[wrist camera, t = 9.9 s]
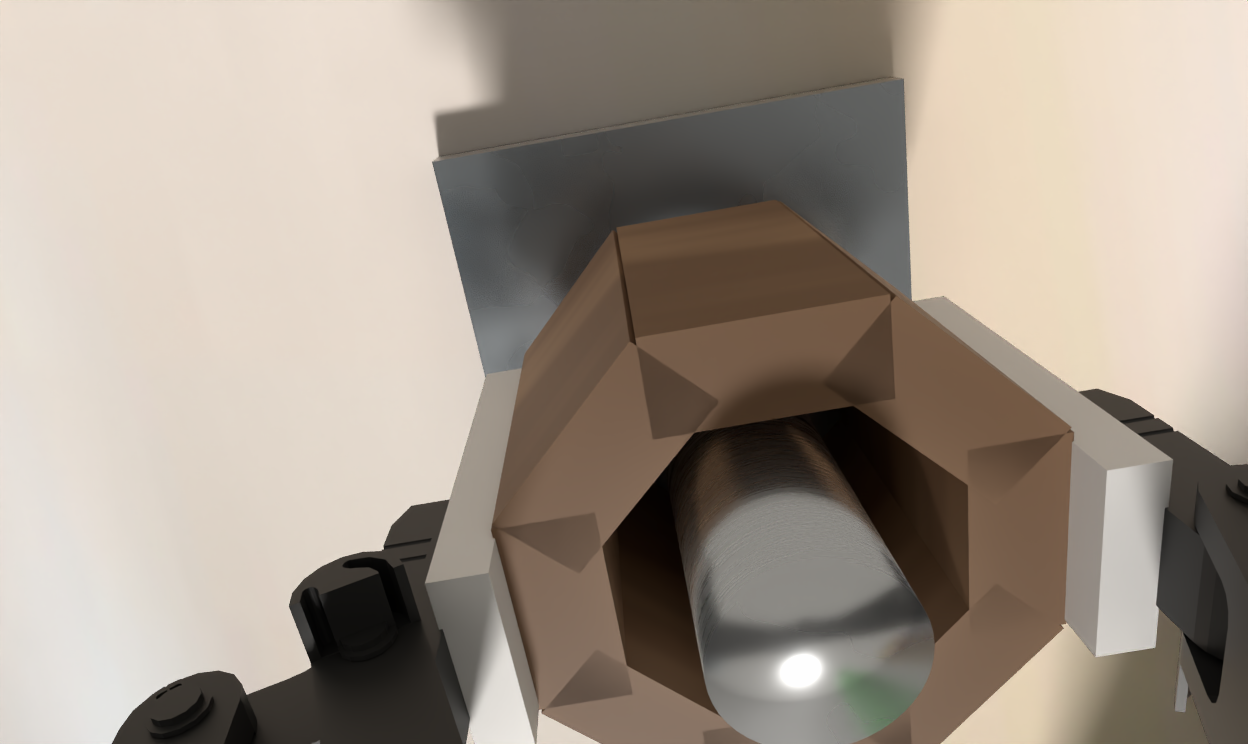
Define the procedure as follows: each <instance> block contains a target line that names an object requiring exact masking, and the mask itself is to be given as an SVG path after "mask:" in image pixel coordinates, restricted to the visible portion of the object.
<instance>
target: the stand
mask: <svg viewBox="0 0 1248 744" xmlns="http://www.w3.org/2000/svg"><path fill="white" fill-rule="evenodd" d="M432 163H433V167H434V171H435V175H436V179H437V183H438V187H439V191H440V195H441V199H442V204H443V208H444V212H445V216H446V220H447V224H448V228H449V232H450V236H451V240H452V244H453V248H454V252H455V256H456V260H457V264H458V268H459V272H460V276H461V280H462V284H463V288H464V293H465V297H466V301H467V305H468V309H469V313H470V317H471V321H472V325H473V329H474V333H475V337H476V341H477V345H478V349H479V353H480V357H481V361H482V365H483V369H484V373H485V377H486V375H487V374H491V373H496V372H502V371H508V370H514V369H520V368H522V365H523V360H524V355H525V353H526V351H527V350H528V348H529V347H530V346H531V344H532V343H533V341H534V340H535V339H536V337H537V336H538V334H539V333H540V332H541V330H542V329H543V327H544V326H545V325H546V323H547V322H548V320H549V319H550V317H551V316H552V315H553V313H554V312H555V310H556V309H557V308H558V306H559V305H560V303H561V302H562V301H563V299H564V298H565V296H566V295H567V294H568V292H569V291H570V289H571V288H572V286H573V285H574V284H575V282H576V281H577V279H578V278H579V277H580V275H581V274H582V272H583V271H584V270H585V268H586V267H587V265H588V264H589V263H590V261H591V260H592V258H593V257H594V255H595V254H596V253H597V251H598V250H599V248H600V247H601V246H602V244H603V243H604V241H605V240H606V239H607V237H608V236H609V234H610V233H611V232H612V230H614V231H615V232H617V228H616V227H622V226H628V225H633V224H639V223H645V222H651V221H656V220H662V219H668V218H674V217H679V216H685V215H691V214H696V213H702V212H708V211H714V210H719V209H725V208H731V207H736V206H742V205H748V204H754V203H759V202H765V201H771V200H777V201H778V202H779V201H781V202H782V203H784V204H785V205H786V206H788V207H789V208H790V209H792V210H793V211H794V212H796V213H797V214H798V215H800V216H801V217H802V218H804V219H805V220H806V221H808V222H809V223H810V224H812V225H813V226H814V227H816V228H817V229H818V230H819V231H821V232H822V233H823V234H825V235H826V236H827V237H829V238H830V239H831V240H833V241H834V242H835V243H837V244H838V245H839V246H841V247H842V248H843V249H845V250H846V251H847V252H849V253H850V254H851V255H853V256H854V257H855V258H857V259H858V260H859V261H861V262H862V263H863V264H865V265H866V266H867V267H869V268H870V269H871V270H872V271H874V272H875V273H876V274H878V275H879V276H880V277H882V278H883V279H884V280H886V281H887V282H888V283H890V284H891V285H892V286H894V287H895V288H896V289H898V290H899V291H900V292H901V293H903V294H904V295H905V296H907V297H908V298H909V299H910V300H912V296H911V269H910V241H909V214H908V187H907V159H906V132H905V104H904V79H902V78H893V77H888V78H883V79H877V80H871V81H866V82H860V83H854V84H849V85H843V86H838V87H832V88H826V89H821V90H815V91H809V92H804V93H798V94H792V95H787V96H781V97H775V98H770V99H764V100H758V101H753V102H747V103H741V104H736V105H730V106H724V107H719V108H713V109H707V110H702V111H696V112H690V113H685V114H679V115H673V116H668V117H662V118H656V119H651V120H645V121H639V122H634V123H628V124H622V125H617V126H611V127H605V128H600V129H594V130H588V131H583V132H577V133H571V134H566V135H560V136H554V137H549V138H543V139H537V140H532V141H526V142H520V143H515V144H509V145H503V146H498V147H492V148H486V149H481V150H475V151H469V152H464V153H458V154H452V155H447V156H441V157H438V158H436V159H435V160H434V161H433V162H432ZM839 419H840V414H839V408H837V409H831V410H825V411H819V412H813V413H808V414H802V415H796V416H790V417H784V418H778V419H772V420H766V421H760V422H754V423H749V424H743V425H737V426H731V427H725V428H719V429H713V430H707V431H701V432H695V433H693V435H692V436H691V437H690V438H689V440H688V441H687V442H686V443H685V445H684V446H683V447H682V448H681V449H680V451H679V452H678V453H677V454H676V456H675V457H674V458H673V459H672V461H671V462H670V463H669V464H668V466H667V467H666V468H665V469H664V470H663V472H662V473H661V474H660V475H659V477H658V478H657V479H656V480H655V482H654V483H656V484H657V485H659V486H661V487H662V488H664V489H666V490H667V491H669V495H670V500H671V505H672V511H673V516H674V521H675V526H676V532H677V537H678V542H679V548H680V553H681V558H682V563H683V569H684V574H685V579H686V585H687V590H688V595H689V600H690V606H691V611H692V616H693V621H694V627H695V632H696V637H697V643H698V648H699V653H700V658H701V664H702V669H703V674H704V680H705V684H706V688H707V692H708V695H709V697H710V699H711V702H712V704H713V705H714V707H715V709H716V710H717V712H718V713H719V715H720V716H721V717H722V718H723V719H724V720H725V721H726V722H727V723H728V724H729V725H730V726H731V727H732V728H734V729H735V730H736V731H738V732H739V733H741V734H742V735H744V736H746V737H747V738H749V739H751V740H754V741H756V742H758V743H761V744H851V743H854V742H857V741H859V740H862V739H864V738H866V737H869V736H871V735H872V734H874V733H876V732H878V731H880V730H882V729H883V728H885V727H886V726H887V725H889V724H890V723H892V722H893V721H894V720H896V719H897V718H898V717H899V716H900V715H901V714H903V713H904V712H905V711H906V710H907V708H908V707H909V706H910V705H911V704H912V703H913V702H914V700H915V699H916V698H917V696H918V695H919V693H920V692H921V690H922V689H923V687H924V685H925V683H926V681H927V679H928V676H929V674H930V671H931V668H932V664H933V659H934V648H935V643H934V634H933V629H932V626H931V622H930V620H929V618H928V616H927V613H926V611H925V609H924V608H923V606H922V604H921V603H920V601H919V599H918V598H917V596H916V594H915V593H914V591H913V589H912V588H911V586H910V584H909V583H908V581H907V579H906V578H905V576H904V574H903V573H902V571H901V569H900V568H899V566H898V564H897V563H896V561H895V559H894V558H893V556H892V554H891V553H890V551H889V549H888V548H887V546H886V544H885V543H884V541H883V539H882V538H881V536H880V534H879V533H878V531H877V529H876V528H875V526H874V524H873V523H872V521H871V519H870V518H869V516H868V514H867V513H866V511H865V509H864V508H863V506H862V504H861V503H860V501H859V499H858V498H857V496H856V494H855V493H854V491H853V489H852V488H851V486H850V484H849V483H848V481H847V479H846V478H845V476H844V474H843V473H842V471H841V469H840V468H839V466H838V464H837V463H836V461H835V459H834V458H833V456H832V454H831V453H830V451H829V449H828V448H827V446H826V444H825V443H824V441H823V439H822V438H823V437H824V436H825V435H826V434H827V433H828V432H829V430H830V429H831V428H832V427H833V426H834V425H835V424H836V422H837V421H838V420H839Z"/></svg>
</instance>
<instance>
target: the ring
mask: <svg viewBox="0 0 1248 744" xmlns="http://www.w3.org/2000/svg"><path fill="white" fill-rule="evenodd" d="M616 228H617V232H615V231H614V230H612V232H611V233H610V234H609V236H608V237H607V239H606V240H605V241H604V243H603V244H602V246H601V247H600V248H599V250H598V251H597V253H596V254H595V255H594V257H593V258H592V260H591V261H590V263H589V264H588V265H587V267H586V268H585V270H584V271H583V272H582V274H581V275H580V277H579V278H578V279H577V281H576V282H575V284H574V285H573V286H572V288H571V289H570V291H569V292H568V294H567V295H566V296H565V298H564V299H563V301H562V302H561V303H560V305H559V306H558V308H557V309H556V310H555V312H554V313H553V315H552V316H551V317H550V319H549V320H548V322H547V323H546V325H545V326H544V327H543V329H542V330H541V332H540V333H539V334H538V336H537V337H536V339H535V340H534V341H533V343H532V344H531V346H530V347H529V348H528V350H527V351H526V353H525V355H524V360H523V365H522V370H521V375H520V380H519V386H518V391H517V396H516V401H515V406H514V412H513V417H512V422H511V427H510V433H509V438H508V443H507V448H506V453H505V459H504V464H503V469H502V474H501V479H500V485H499V490H498V495H497V500H496V505H495V511H494V516H493V521H492V526H491V533H492V536H493V538H495V541H496V544H497V548H498V552H499V556H500V560H501V563H502V567H503V571H504V575H505V578H506V582H507V586H508V590H509V594H510V597H511V601H512V605H513V609H514V613H515V616H516V620H517V624H518V628H519V632H520V635H521V639H522V643H523V647H524V651H525V654H526V658H527V662H528V666H529V669H530V673H531V677H532V681H533V685H534V688H535V692H536V696H537V700H538V704H539V710H540V709H542V714H544V715H546V716H548V717H550V718H552V719H554V720H556V721H558V722H560V723H562V724H564V725H565V726H567V727H569V728H571V729H573V730H575V731H577V732H579V733H581V734H583V735H585V736H587V737H589V738H591V739H593V740H595V741H597V742H599V743H601V744H761V743H758V742H756V741H754V740H751V739H749V738H747V737H746V736H744V735H742V734H741V733H739V732H738V731H736V730H735V729H734V728H732V727H731V726H730V725H729V724H728V723H727V722H726V721H725V720H724V719H723V718H722V717H721V716H720V715H719V713H718V712H717V710H716V709H715V707H714V705H713V704H712V702H711V699H710V697H709V695H708V692H707V688H706V684H705V680H704V674H703V669H702V664H701V658H700V653H699V648H698V643H697V637H696V632H695V627H694V621H693V616H692V611H691V606H690V600H689V595H688V590H687V585H686V579H685V574H684V569H683V563H682V558H681V553H680V548H679V542H678V537H677V532H676V526H675V521H674V516H673V511H672V505H671V500H670V495H669V491H667V490H666V489H664V488H662V487H661V486H659V485H657V484H656V483H654V482H655V480H656V479H657V478H658V477H659V475H660V474H661V473H662V472H663V470H664V469H665V468H666V467H667V466H668V464H669V463H670V462H671V461H672V459H673V458H674V457H675V456H676V454H677V453H678V452H679V451H680V449H681V448H682V447H683V446H684V445H685V443H686V442H687V441H688V440H689V438H690V437H691V436H692V435H693V433H695V432H701V431H707V430H713V429H719V428H725V427H731V426H737V425H743V424H749V423H754V422H760V421H766V420H772V419H778V418H784V417H790V416H796V415H802V414H808V413H813V412H819V411H825V410H831V409H837V408H839V414H840V419H839V420H838V421H837V422H836V424H835V425H834V426H833V427H832V428H831V429H830V430H829V432H828V433H827V434H826V435H825V436H824V437H823V438H822V439H823V441H824V443H825V444H826V446H827V448H828V449H829V451H830V453H831V454H832V456H833V458H834V459H835V461H836V463H837V464H838V466H839V468H840V469H841V471H842V473H843V474H844V476H845V478H846V479H847V481H848V483H849V484H850V486H851V488H852V489H853V491H854V493H855V494H856V496H857V498H858V499H859V501H860V503H861V504H862V506H863V508H864V509H865V511H866V513H867V514H868V516H869V518H870V519H871V521H872V523H873V524H874V526H875V528H876V529H877V531H878V533H879V534H880V536H881V538H882V539H883V541H884V543H885V544H886V546H887V548H888V549H889V551H890V553H891V554H892V556H893V558H894V559H895V561H896V563H897V564H898V566H899V568H900V569H901V571H902V573H903V574H904V576H905V578H906V579H907V581H908V583H909V584H910V586H911V588H912V589H913V591H914V593H915V594H916V596H917V598H918V599H919V601H920V603H921V604H922V606H923V608H924V609H925V611H926V613H927V616H928V618H929V620H930V622H931V626H932V629H933V634H934V643H935V648H934V659H933V664H932V668H931V671H930V674H929V676H928V679H927V681H926V683H925V685H924V687H923V689H922V690H921V692H920V693H919V695H918V696H917V698H916V699H915V700H914V702H913V703H912V704H911V705H910V706H909V707H908V708H907V710H906V711H905V712H904V713H903V714H901V715H900V716H899V717H898V718H897V719H896V720H894V721H893V722H892V723H890V724H889V725H887V726H886V727H885V728H883V729H882V730H880V731H878V732H876V733H874V734H872V735H871V736H869V737H866V738H864V739H862V740H859V741H857V742H854V743H851V744H940V743H941V742H943V741H944V740H945V739H946V738H947V737H948V736H949V735H950V734H951V733H952V732H953V731H954V730H955V729H956V728H958V727H959V726H960V725H961V724H962V723H963V722H964V721H965V720H966V719H967V718H968V717H969V716H970V715H971V714H972V713H974V712H975V711H976V710H977V709H978V708H979V707H980V706H981V705H982V704H983V703H984V702H985V701H986V700H987V699H989V698H990V697H991V696H992V695H993V694H994V693H995V692H996V691H997V690H998V689H999V688H1000V687H1001V686H1002V685H1004V684H1005V683H1006V682H1007V681H1008V680H1009V679H1010V678H1011V677H1012V676H1013V675H1014V674H1015V673H1016V672H1017V671H1018V670H1020V669H1021V668H1022V667H1023V666H1024V665H1025V664H1026V663H1027V662H1028V661H1029V660H1030V659H1031V658H1032V657H1033V656H1035V655H1036V654H1037V653H1038V652H1039V651H1040V650H1041V649H1042V648H1043V647H1044V646H1045V645H1046V644H1047V643H1048V642H1050V641H1051V640H1052V639H1053V638H1054V637H1055V636H1056V635H1057V634H1058V633H1059V632H1060V631H1061V630H1062V629H1063V627H1062V626H1061V624H1066V621H1065V599H1066V575H1067V551H1068V527H1069V503H1070V479H1071V455H1072V442H1073V441H1074V432H1073V431H1072V430H1071V428H1072V427H1071V426H1070V425H1068V424H1067V423H1066V422H1065V421H1063V420H1062V419H1061V418H1059V417H1058V416H1057V415H1056V414H1054V413H1053V412H1052V411H1051V410H1049V409H1048V408H1047V407H1046V406H1044V405H1043V404H1042V403H1041V402H1039V401H1038V400H1037V399H1035V398H1034V397H1033V396H1032V395H1030V394H1029V393H1028V392H1027V391H1025V390H1024V389H1023V388H1022V387H1020V386H1019V385H1018V384H1017V383H1015V382H1014V381H1013V380H1011V379H1010V378H1009V377H1008V376H1006V375H1005V374H1004V373H1003V372H1001V371H1000V370H999V369H998V368H996V367H995V366H994V365H992V364H991V363H990V362H989V361H987V360H986V359H985V358H984V357H982V356H981V355H980V354H979V353H977V352H976V351H975V350H974V349H972V348H971V347H970V346H968V345H967V344H966V343H965V342H963V341H962V340H961V339H960V338H958V337H957V336H956V335H955V334H953V333H952V332H951V331H950V330H948V329H947V328H946V327H944V326H943V325H942V324H941V323H939V322H938V321H937V320H936V319H934V318H933V317H932V316H931V315H929V314H928V313H927V312H925V311H924V310H923V309H922V308H920V307H919V306H918V305H917V304H915V303H914V302H913V301H912V300H910V299H909V298H908V297H907V296H905V295H904V294H903V293H901V292H900V291H899V290H898V289H896V288H895V287H894V286H892V285H891V284H890V283H888V282H887V281H886V280H884V279H883V278H882V277H880V276H879V275H878V274H876V273H875V272H874V271H872V270H871V269H870V268H869V267H867V266H866V265H865V264H863V263H862V262H861V261H859V260H858V259H857V258H855V257H854V256H853V255H851V254H850V253H849V252H847V251H846V250H845V249H843V248H842V247H841V246H839V245H838V244H837V243H835V242H834V241H833V240H831V239H830V238H829V237H827V236H826V235H825V234H823V233H822V232H821V231H819V230H818V229H817V228H816V227H814V226H813V225H812V224H810V223H809V222H808V221H806V220H805V219H804V218H802V217H801V216H800V215H798V214H797V213H796V212H794V211H793V210H792V209H790V208H789V207H788V206H786V205H785V204H784V203H782V202H781V201H779V202H778V201H777V200H771V201H765V202H759V203H754V204H748V205H742V206H736V207H731V208H725V209H719V210H714V211H708V212H702V213H696V214H691V215H685V216H679V217H674V218H668V219H662V220H656V221H651V222H645V223H639V224H633V225H628V226H622V227H616Z"/></svg>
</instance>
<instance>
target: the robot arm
mask: <svg viewBox="0 0 1248 744" xmlns="http://www.w3.org/2000/svg"><path fill="white" fill-rule="evenodd" d="M913 302H914V303H915V304H917V305H918V306H919V307H920V308H922V309H923V310H924V311H925V312H927V313H928V314H929V315H931V316H932V317H933V318H934V319H936V320H937V321H938V322H939V323H941V324H942V325H943V326H944V327H946V328H947V329H948V330H950V331H951V332H952V333H953V334H955V335H956V336H957V337H958V338H960V339H961V340H962V341H963V342H965V343H966V344H967V345H968V346H970V347H971V348H972V349H974V350H975V351H976V352H977V353H979V354H980V355H981V356H982V357H984V358H985V359H986V360H987V361H989V362H990V363H991V364H992V365H994V366H995V367H996V368H998V369H999V370H1000V371H1001V372H1003V373H1004V374H1005V375H1006V376H1008V377H1009V378H1010V379H1011V380H1013V381H1014V382H1015V383H1017V384H1018V385H1019V386H1020V387H1022V388H1023V389H1024V390H1025V391H1027V392H1028V393H1029V394H1030V395H1032V396H1033V397H1034V398H1035V399H1037V400H1038V401H1039V402H1041V403H1042V404H1043V405H1044V406H1046V407H1047V408H1048V409H1049V410H1051V411H1052V412H1053V413H1054V414H1056V415H1057V416H1058V417H1059V418H1061V419H1062V420H1063V421H1065V422H1066V423H1067V424H1068V425H1070V426H1071V427H1072V428H1071V430H1072V431H1073V432H1074V441H1073V442H1072V455H1071V479H1070V503H1069V527H1068V551H1067V575H1066V599H1065V621H1066V622H1067V623H1068V624H1069V626H1070V627H1071V628H1072V629H1073V630H1074V632H1075V633H1076V634H1077V635H1078V636H1079V638H1080V639H1081V640H1082V641H1083V643H1084V644H1085V645H1086V646H1087V647H1088V649H1089V650H1090V651H1091V652H1092V653H1093V655H1094V656H1095V657H1101V656H1107V655H1113V654H1119V653H1126V652H1132V651H1138V650H1144V649H1151V648H1155V646H1156V635H1157V625H1158V614H1159V609H1160V610H1161V611H1162V612H1163V613H1164V614H1165V615H1166V616H1167V617H1168V618H1169V619H1170V620H1171V621H1172V622H1173V623H1174V624H1175V625H1176V626H1177V627H1178V628H1180V629H1181V630H1182V632H1181V641H1180V651H1179V660H1178V669H1177V678H1176V688H1175V697H1174V701H1175V711H1178V712H1185V710H1186V702H1187V698H1188V697H1189V696H1190V695H1192V698H1193V700H1194V703H1195V706H1196V709H1197V711H1198V714H1199V717H1200V720H1201V722H1202V725H1203V728H1204V731H1205V733H1206V736H1207V739H1208V741H1209V744H1248V464H1245V465H1232V466H1230V465H1229V464H1227V463H1226V462H1224V461H1223V460H1221V459H1220V458H1218V457H1217V456H1215V455H1213V454H1212V453H1210V452H1209V451H1207V450H1206V449H1204V448H1203V447H1201V446H1200V445H1198V444H1197V443H1195V442H1194V441H1192V440H1191V439H1189V438H1188V437H1186V436H1185V435H1183V434H1182V433H1180V432H1179V431H1175V432H1174V431H1173V427H1171V426H1170V425H1168V424H1166V423H1165V422H1163V421H1162V420H1160V419H1159V418H1156V419H1155V418H1154V415H1153V414H1151V413H1150V412H1148V411H1147V410H1145V409H1144V408H1142V407H1141V406H1139V405H1138V404H1136V403H1135V402H1133V401H1132V400H1130V399H1127V398H1124V397H1121V396H1118V395H1115V394H1112V393H1109V392H1106V391H1103V390H1099V389H1092V390H1086V391H1081V392H1078V391H1076V390H1075V389H1073V388H1072V387H1071V386H1069V385H1068V384H1066V383H1065V382H1064V381H1062V380H1061V379H1059V378H1058V377H1057V376H1055V375H1054V374H1052V373H1051V372H1050V371H1048V370H1047V369H1045V368H1044V367H1043V366H1041V365H1040V364H1038V363H1037V362H1036V361H1034V360H1033V359H1031V358H1030V357H1028V356H1027V355H1026V354H1024V353H1023V352H1021V351H1020V350H1019V349H1017V348H1016V347H1014V346H1013V345H1012V344H1010V343H1009V342H1007V341H1006V340H1005V339H1003V338H1002V337H1000V336H999V335H998V334H996V333H995V332H993V331H992V330H991V329H989V328H988V327H986V326H985V325H984V324H982V323H981V322H979V321H978V320H977V319H975V318H974V317H972V316H971V315H970V314H968V313H967V312H965V311H964V310H963V309H961V308H960V307H958V306H957V305H956V304H954V303H953V302H951V301H950V300H949V299H947V298H946V297H944V296H942V297H936V298H930V299H924V300H918V301H913ZM521 370H522V368H520V369H514V370H508V371H502V372H496V373H491V374H487V375H486V379H485V382H484V385H483V389H482V392H481V396H480V399H479V402H478V406H477V409H476V412H475V416H474V419H473V423H472V426H471V429H470V433H469V436H468V440H467V443H466V446H465V450H464V453H463V456H462V460H461V463H460V467H459V470H458V473H457V477H456V480H455V483H454V487H453V490H452V494H451V497H450V500H444V501H438V502H432V503H426V504H420V505H414V506H411V507H410V508H409V509H408V510H407V511H406V512H405V513H404V514H403V515H402V516H401V517H400V518H399V519H398V520H397V521H396V522H395V523H394V524H393V525H392V526H391V529H390V531H389V534H388V536H387V539H386V541H385V544H384V550H382V551H375V552H361V553H357V554H353V555H349V556H345V557H342V558H339V559H337V560H335V561H333V562H331V563H329V564H326V565H324V566H322V567H320V568H319V569H318V570H316V571H315V572H313V573H312V574H311V575H309V576H308V577H306V578H305V579H304V580H303V581H302V582H301V583H300V585H299V586H298V587H297V588H296V589H295V591H294V592H293V593H292V596H291V600H290V604H289V608H290V610H291V613H292V615H293V618H294V621H295V623H296V626H297V628H298V631H299V634H300V636H301V639H302V641H303V644H304V646H305V649H306V652H307V654H308V657H309V659H310V662H311V668H310V669H308V670H307V671H305V672H303V673H301V674H298V675H296V676H294V677H292V678H290V679H287V680H285V681H282V682H279V683H277V684H274V685H272V686H269V687H266V688H264V689H261V690H258V691H256V692H253V693H251V694H248V695H246V693H245V691H244V688H243V686H242V684H241V683H240V681H239V680H238V679H237V678H236V676H235V675H234V674H230V673H226V672H222V671H212V672H204V673H197V674H195V675H192V676H189V677H186V678H183V679H180V680H177V681H175V682H173V683H171V684H169V685H168V686H166V687H163V688H162V689H160V690H158V691H157V692H155V693H154V694H152V695H151V696H150V697H149V698H148V699H147V700H145V701H144V702H143V703H142V704H141V705H139V706H138V707H137V708H136V709H135V710H133V712H132V713H131V714H130V716H129V717H128V718H127V720H126V721H125V722H124V724H123V725H122V726H121V728H120V729H119V731H118V733H117V735H116V737H115V739H114V741H113V743H112V744H466V740H467V734H468V728H470V731H471V734H472V738H473V741H474V744H536V740H537V726H538V712H539V704H538V700H537V696H536V692H535V688H534V685H533V681H532V677H531V673H530V669H529V666H528V662H527V658H526V654H525V651H524V647H523V643H522V639H521V635H520V632H519V628H518V624H517V620H516V616H515V613H514V609H513V605H512V601H511V597H510V594H509V590H508V586H507V582H506V578H505V575H504V571H503V567H502V563H501V560H500V556H499V552H498V548H497V544H496V541H495V538H493V536H492V533H491V526H492V521H493V516H494V511H495V505H496V500H497V495H498V490H499V485H500V479H501V474H502V469H503V464H504V459H505V453H506V448H507V443H508V438H509V433H510V427H511V422H512V417H513V412H514V406H515V401H516V396H517V391H518V386H519V380H520V375H521Z"/></svg>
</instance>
